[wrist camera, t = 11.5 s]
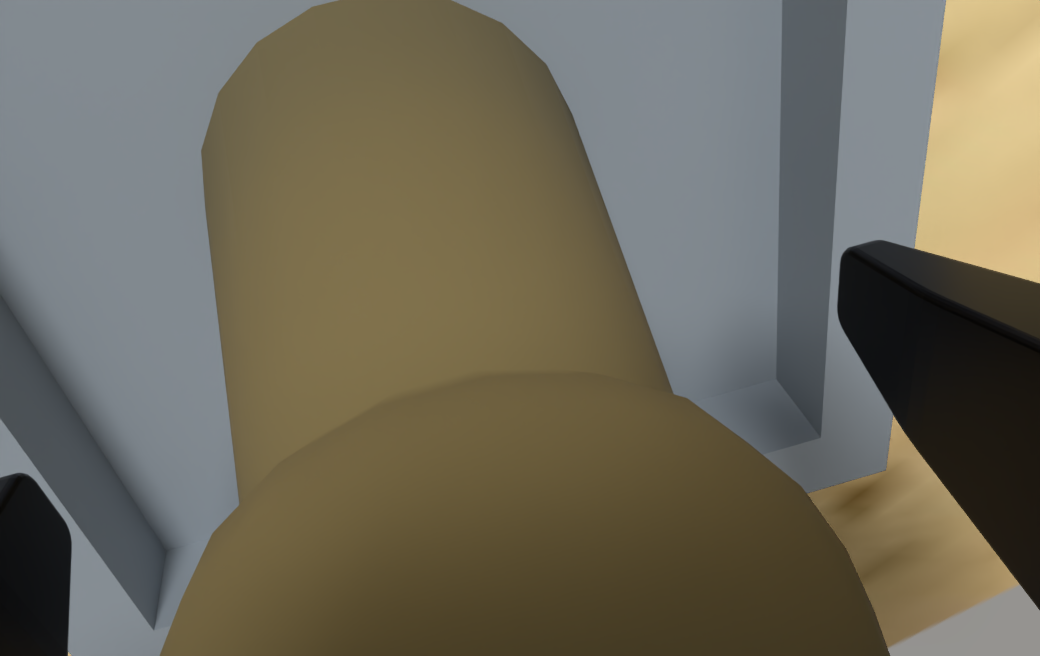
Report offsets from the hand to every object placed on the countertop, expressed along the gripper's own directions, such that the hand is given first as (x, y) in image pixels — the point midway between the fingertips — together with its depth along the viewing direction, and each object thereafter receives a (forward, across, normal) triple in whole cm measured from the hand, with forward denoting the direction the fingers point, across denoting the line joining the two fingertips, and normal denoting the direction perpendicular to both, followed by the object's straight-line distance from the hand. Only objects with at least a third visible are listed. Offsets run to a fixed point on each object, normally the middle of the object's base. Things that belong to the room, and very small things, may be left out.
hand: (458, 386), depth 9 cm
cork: (+6, 0, 0) cm, 6 cm away
